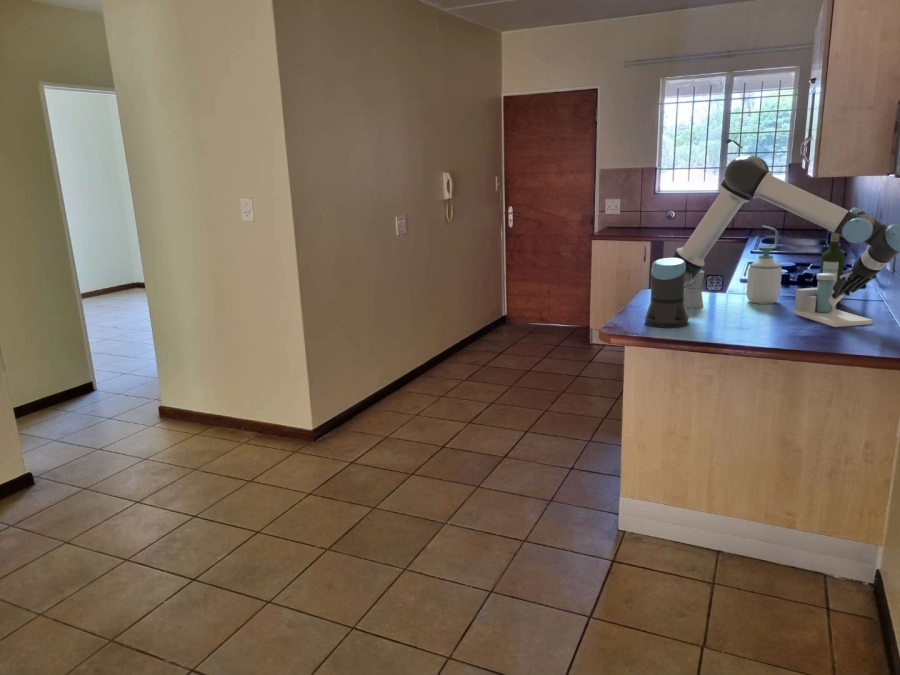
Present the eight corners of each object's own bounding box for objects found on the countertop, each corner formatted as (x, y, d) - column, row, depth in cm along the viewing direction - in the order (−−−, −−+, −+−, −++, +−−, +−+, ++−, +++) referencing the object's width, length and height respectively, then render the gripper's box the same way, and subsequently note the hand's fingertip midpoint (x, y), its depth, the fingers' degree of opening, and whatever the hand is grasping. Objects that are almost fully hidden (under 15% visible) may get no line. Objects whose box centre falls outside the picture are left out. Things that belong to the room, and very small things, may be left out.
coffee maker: (693, 310, 258) (695, 265, 253) (673, 307, 264) (675, 263, 260) (713, 304, 267) (715, 260, 262) (693, 301, 273) (695, 259, 269)
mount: (871, 323, 225) (875, 297, 223) (834, 327, 223) (837, 300, 221) (828, 311, 246) (830, 286, 244) (793, 313, 245) (796, 288, 242)
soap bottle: (744, 298, 274) (749, 224, 266) (776, 299, 270) (783, 223, 262) (747, 304, 263) (753, 227, 255) (781, 305, 259) (788, 226, 251)
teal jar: (836, 312, 236) (839, 275, 233) (820, 313, 236) (824, 276, 232) (824, 308, 242) (828, 272, 239) (809, 310, 241) (813, 273, 238)
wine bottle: (838, 301, 261) (846, 226, 253) (841, 305, 254) (849, 228, 246) (816, 300, 264) (823, 226, 256) (817, 304, 257) (825, 228, 250)
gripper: (858, 272, 212) (819, 312, 232) (894, 270, 213) (852, 309, 233) (848, 254, 215) (810, 294, 236) (884, 252, 217) (843, 292, 237)
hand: (831, 302), depth 234 cm, fingers closed
